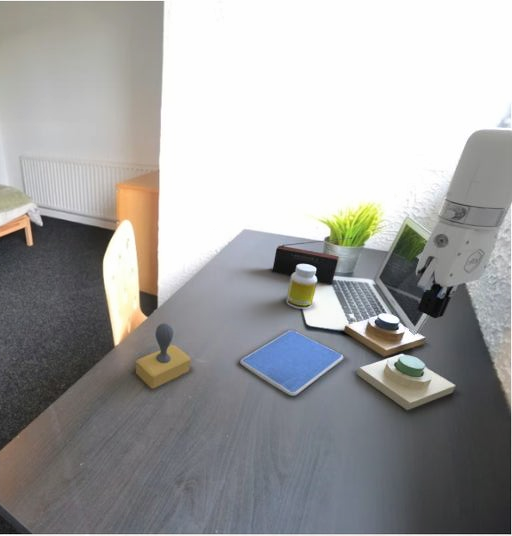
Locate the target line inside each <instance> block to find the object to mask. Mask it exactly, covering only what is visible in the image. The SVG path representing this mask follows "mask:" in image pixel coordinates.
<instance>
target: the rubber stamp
mask: <svg viewBox="0 0 512 536" xmlns="http://www.w3.org/2000/svg"><path fill="white" fill-rule="evenodd" d="M173 337H174V330H173V327H172V326H171V325H170V324H168V323H165V322H163V323H160V324H158V325H157V327H156V330H155V338H156V342H157V344H158V346H159V350H157V351H155V352H152V353H150V354H148V355H145V356H143V357H141V358H138V359H137V360H136V361H135V374H136V375H137V376H138V377H139V378H140V379H141V380H142V381H143V382H144V383H145V384H146V385H147V386H148V387H149V388H150V389H155V388H157V387H159V386H161V385H164V384H165V383H168V382H170V381H172V380H174V379H176V378H177V377H180V376H182V375H183V374H186V373H188V372H190V365H191V357H190V356H189V355H187V354H186V353H185V352H184V351H183V350H181V349H180V348H179V347H178V346H176V345H175V344H171V343H172V341H173Z"/></svg>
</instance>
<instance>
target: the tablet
mask: <svg viewBox="0 0 512 536" xmlns="http://www.w3.org/2000/svg"><path fill="white" fill-rule="evenodd" d="M343 360H344V356H343V354H341V353H339V352H337V351H335V350H333V349H331V348H329V347H327V346H325V345H323V344H321V343H319V342H317V341H316V340H314V339H312V338H310V337H307V336H305V335H303V334H301V333H299V332H297V331H295V330H293V329H292V330H290V329H289V330H288V331H285V332H284V333H283V334H281V335H279V336H278V337H276V338H274V339H273V340H272V341H270V342H268V343H266V344H265V345H263V346H261V347H260V348H258V349H256V350H254V351H253V352H252V353H250V354H248V355H246V356H244V357H243V358H241V359H240V365H242V366H243V367H244V368H246V369H247V370H249V371H250V372H252V374H254V375H256V376H257V377H259V378H261V379H262V380H264V381H265V382H267V383H269V384H270V385H271V386H273V387H275V388H276V389H279V390H280V391H282V392H283V393H285V394H287V395H289V396H290V397H291V396H292V397H295V396H298V394H300V393H301V392H303V390H305V389H306V388H308V387H309V386H310V385H311V384H312V383H314V382H315V381H317V380H318V379H319V378H321V377H322V376H324V374H326V373H327V372H329V371H330V370H331V369H333V368H334V367H335V366H336V365H338V364H339V363H340V362H342V361H343Z"/></svg>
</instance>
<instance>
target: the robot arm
mask: <svg viewBox="0 0 512 536" xmlns="http://www.w3.org/2000/svg"><path fill="white" fill-rule="evenodd" d="M450 179H451V180H450V182H449V184H448V187H447V190H446V193H445V195H444V198H443V200H442V203H441V206H440V208H439V211H438V214H437V217H436V219H437V222H436V224H435V226H434V227H433V229H432V231H431V233H430V235H429V237H428V239H427V241H426V243H425V245H424V246H423V250H422V252H421V255H420V257H419V260H418V261H417V265H416V269H415V275H416V276H417V277H418V278H420V279H419V280H418V282H417V284H416V287H418V288H420V289H422V291H423V293H422V297H421V299H420V301H419V304H418V306H417V310H418V311H419V312H421V313H423V314H424V315H427V316H429V317H431V318H432V319H438V318H441V317H443V316H444V315H445V312H446V310H447V308H448V305H449V303H450V301H451V298H452V297H453V296H454V295H455V293H456V291H457V289H458V288H459V285H462V284H466V283H470V282H473V281H477V280H479V279H481V278H482V277H483V275H484V274H485V271H486V269H487V266H488V264H489V262H490V259H491V256H492V253H493V251H494V249H495V246H496V244H497V243H496V242H497V240H498V236H499V231H500V229H501V227H502V225H503V224H504V223H503V222H504V221H505V218H506V216H507V214H508V211H509V210H510V207H511V205H512V127H510V128H509V127H487V128H486V127H485V128H479V129H476V130H474V131H472V132H471V133H470V134H469V135H468V137H467V138H466V140H465V142H464V145H463V147H462V150H461V152H460V155H459V158H458V161H457V163H456V166H455V168H454V172H453V174H452V177H451V178H450Z"/></svg>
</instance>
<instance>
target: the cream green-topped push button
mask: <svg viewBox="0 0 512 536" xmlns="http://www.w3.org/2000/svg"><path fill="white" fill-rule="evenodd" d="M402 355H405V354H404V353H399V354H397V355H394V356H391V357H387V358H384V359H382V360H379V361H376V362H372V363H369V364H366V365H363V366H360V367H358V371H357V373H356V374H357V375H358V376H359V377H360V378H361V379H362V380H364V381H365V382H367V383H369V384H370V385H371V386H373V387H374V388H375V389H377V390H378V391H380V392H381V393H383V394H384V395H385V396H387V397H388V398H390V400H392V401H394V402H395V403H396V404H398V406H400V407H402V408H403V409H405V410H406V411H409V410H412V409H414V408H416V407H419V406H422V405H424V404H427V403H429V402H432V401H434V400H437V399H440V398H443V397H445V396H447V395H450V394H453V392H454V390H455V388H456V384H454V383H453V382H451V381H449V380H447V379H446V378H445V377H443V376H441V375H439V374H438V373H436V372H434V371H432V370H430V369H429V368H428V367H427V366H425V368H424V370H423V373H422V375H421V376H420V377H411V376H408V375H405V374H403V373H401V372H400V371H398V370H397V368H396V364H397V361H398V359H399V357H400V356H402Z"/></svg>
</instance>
